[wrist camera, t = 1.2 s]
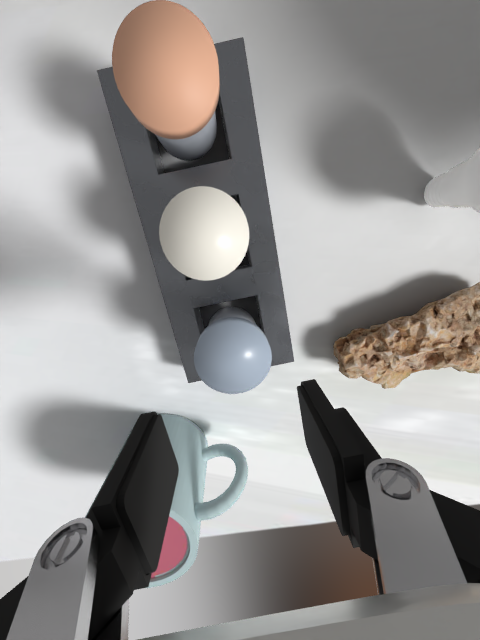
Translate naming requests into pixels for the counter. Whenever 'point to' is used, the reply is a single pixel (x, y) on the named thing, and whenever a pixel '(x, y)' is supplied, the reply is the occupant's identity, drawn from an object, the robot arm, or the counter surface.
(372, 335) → the rock
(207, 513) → the mug
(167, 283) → the key panel
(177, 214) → the cream key
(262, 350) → the light blue cylinder
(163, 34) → the terracotta key
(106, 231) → the counter surface
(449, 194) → the lightbulb
